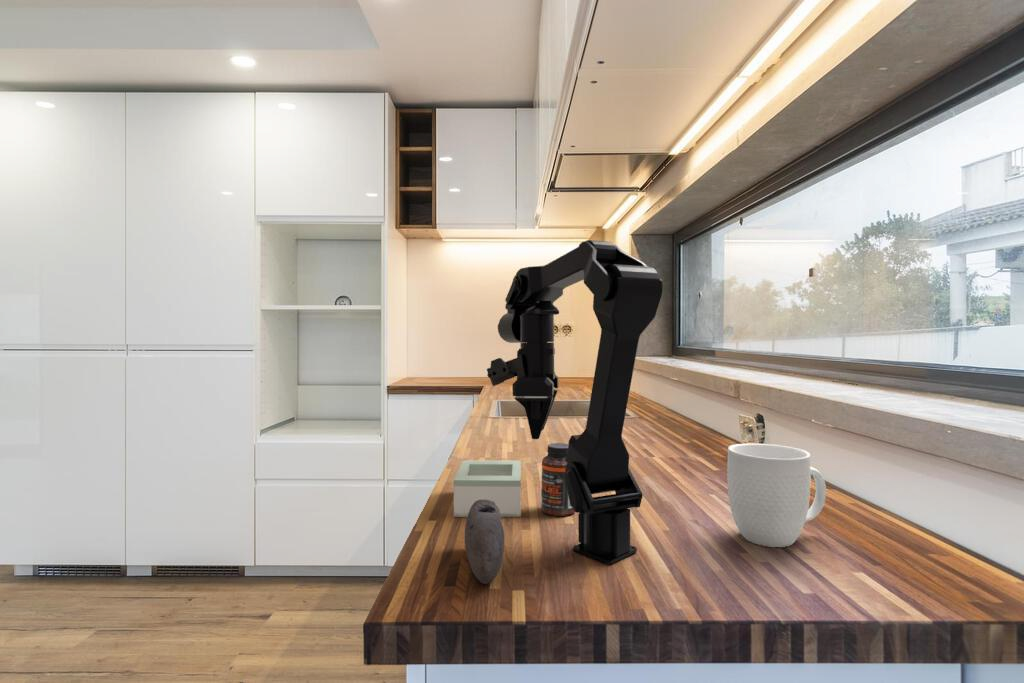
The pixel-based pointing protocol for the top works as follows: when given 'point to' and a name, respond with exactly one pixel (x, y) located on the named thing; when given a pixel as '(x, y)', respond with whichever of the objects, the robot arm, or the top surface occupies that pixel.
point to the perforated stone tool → (484, 540)
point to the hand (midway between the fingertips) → (538, 434)
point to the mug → (772, 492)
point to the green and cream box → (488, 486)
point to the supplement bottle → (555, 481)
